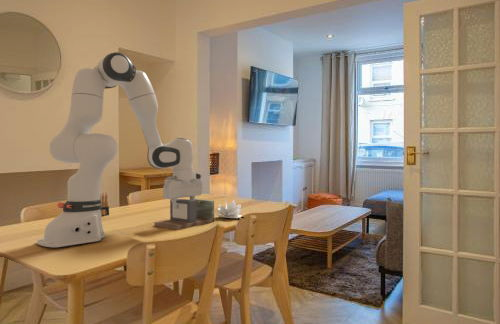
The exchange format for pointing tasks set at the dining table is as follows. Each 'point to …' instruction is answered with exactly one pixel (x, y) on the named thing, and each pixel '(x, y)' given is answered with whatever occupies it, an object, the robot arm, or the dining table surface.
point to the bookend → (202, 216)
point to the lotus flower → (230, 210)
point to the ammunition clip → (104, 205)
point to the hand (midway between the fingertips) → (183, 207)
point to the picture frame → (183, 211)
